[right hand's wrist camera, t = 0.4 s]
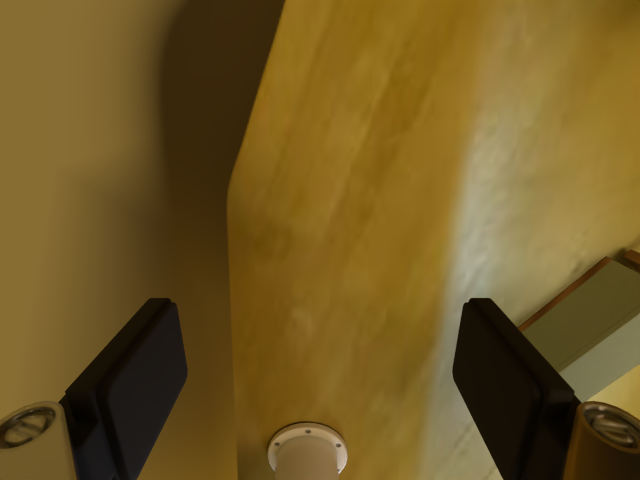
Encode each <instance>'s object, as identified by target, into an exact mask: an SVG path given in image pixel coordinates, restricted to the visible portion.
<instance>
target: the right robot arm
mask: <svg viewBox="0 0 640 480" xmlns="http://www.w3.org/2000/svg"><path fill="white" fill-rule="evenodd" d="M452 371H453V378H454V381H455V383H456V385H457V387H458V389H459V391H460V393H461V395H462V397H463V399H464V401H465V403H466V405H467V408H468V410H469V412H470V414H471V416H472V418H473V420H474V422H475V424H476V426H477V428H478V430H479V432H480V434H481V436H482V438H483V440H484V442H485V444H486V446H487V448H488V450H489V452H490V454H491V456H492V458H493V460H494V462H495V464H496V466H497V468H498V470H499V472H500V474H501V476H502V478H503V479H504V480H640V420H639V419H637V418H636V417H634V416H633V415H631V414H630V413H628V412H626V411H624V410H622V409H620V408H618V407H616V406H613V405H610V404H607V403H603V402H596V401H588V402H583V403H582V402H581V401H580V400H579V399H578V398H577V397H576V396H575V394H574V393H575V391H574V390H573V389H572V388H571V386H570V385H569V384H568V383H567V382H566V381H565V380H564V379H563V378H562V377H561V375H560V374H559V373H558V372H557V371H556V370H555V369H554V368H553V367H552V366H551V364H550V363H549V362H548V361H547V360H546V359H545V358H544V357H543V356H542V355H541V353H540V352H539V351H538V350H537V349H536V348H535V347H534V346H533V345H532V343H531V342H530V341H529V340H528V339H527V338H526V337H525V336H524V335H523V334H522V332H521V331H520V330H519V329H518V328H517V327H516V326H515V325H514V324H513V323H512V321H511V320H510V319H509V318H508V317H507V316H506V315H505V314H504V313H503V312H502V310H501V309H500V308H499V307H498V306H497V305H496V304H495V303H494V302H493V301H492V300H491V299H490V298H471V299H470V300H469V302H468V303H464V305H463V310H462V316H461V322H460V328H459V333H458V339H457V345H456V351H455V357H454V363H453V370H452ZM186 378H187V363H186V357H185V351H184V345H183V339H182V334H181V328H180V322H179V316H178V310H177V305H176V303H172V302H171V300H170V299H169V298H150V299H149V300H148V301H147V302H146V303H145V304H144V305H143V306H142V307H141V308H140V309H139V310H138V312H137V313H136V314H135V315H134V316H133V317H132V318H131V319H130V320H129V321H128V323H127V324H126V325H125V326H124V327H123V328H122V329H121V330H120V331H119V332H118V334H117V335H116V336H115V337H114V338H113V339H112V340H111V341H110V342H109V344H108V345H107V346H106V347H105V348H104V349H103V350H102V351H101V352H100V353H99V355H98V356H97V357H96V358H95V359H94V360H93V361H92V362H91V363H90V364H89V366H88V367H87V368H86V369H85V370H84V371H83V372H82V373H81V374H80V375H79V377H78V378H77V379H76V380H75V381H74V382H73V383H72V384H71V385H70V387H69V388H68V389H67V390H66V391H65V393H66V395H65V396H64V397H63V398H62V399H61V400H60V401H59V402H58V403H57V402H52V401H44V402H38V403H34V404H30V405H27V406H24V407H22V408H20V409H18V410H16V411H14V412H12V413H10V414H9V415H7V416H6V417H4V418H3V419H1V420H0V480H136V479H137V478H138V476H139V474H140V472H141V470H142V468H143V466H144V464H145V462H146V460H147V458H148V456H149V454H150V452H151V450H152V448H153V446H154V444H155V442H156V440H157V438H158V436H159V434H160V432H161V430H162V428H163V426H164V423H165V422H166V420H167V418H168V415H169V414H170V412H171V410H172V408H173V405H174V403H175V401H176V399H177V397H178V395H179V393H180V391H181V389H182V387H183V385H184V383H185V381H186ZM268 461H269V464H270V466H271V468H272V469H273V470H274V471H275V480H339V478H338V474H339V473H340V472H341V471H342V469H343V468H344V466H345V464H346V461H347V448H346V444H345V442H344V440H343V439H342V437H341V436H340V435H339V434H338V433H337V432H336V431H334V430H332V429H331V428H329V427H326V426H324V425H321V424H316V423H298V424H294V425H290V426H288V427H286V428H284V429H282V430H280V431H279V432H278V433H277V434H276V435H275V436H274V437H273V438H272V440H271V442H270V444H269V448H268Z"/></svg>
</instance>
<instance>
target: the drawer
mask: <svg viewBox="0 0 640 480" xmlns="http://www.w3.org/2000/svg"><path fill="white" fill-rule="evenodd" d="M623 257H624V258H625V259H626V260H627V261H628V262H629V263H630V264H631V265H632V266H633V267H634V268H635V270H636V271H637V272H638V273H639V274H640V253H638V252H636V251H634V250H630V251H628V252H627V253H626V254H625V255H623Z"/></svg>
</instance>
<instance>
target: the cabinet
mask: <svg viewBox="0 0 640 480" xmlns="http://www.w3.org/2000/svg"><path fill="white" fill-rule="evenodd" d="M518 329H519V330H520V331H521V332H522V334H523V335H524V336H525V337H526V338H527V339H528V340H529V341H530V342H531V343H532V345H533V346H534V347H535V348H536V349H537V350H538V351H539V352H540V353H541V355H542V356H543V357H544V358H545V359H546V360H547V361H548V362H549V363H550V364H551V366H552V367H553V368H554V369H555V370H556V371H557V372H558V373H559V374H560V375H561V377H562V378H563V379H564V380H565V381H566V382H567V383H568V384H569V385H570V386H571V388H572V389H573V390H574V391H575V393H574V394H575V396H576V397H577V398H578V399H579V400H580V401H581V402H582V403H583V402H585V401H587V400H588V399H589V398H591V397H592V396H594V395H595V394H597V393H598V392H600V391H601V390H602V389H604V388H605V387H607V386H608V385H610V384H611V383H613V382H614V381H615V380H617V379H618V378H620V377H621V376H623V375H624V374H626V373H627V372H628V371H630V370H631V369H633V368H634V367H636V366H637V365H639V364H640V274H639V273H637V272H635V271H633V270H631V269H630V268H628V267H626V266H624V265H622V264H620V263H618V262H616V261H614V260H612V259H610V258H608V257H605V258H604V259H603V260H601V261H600V262H599V263H598V264H596V265H595V266H594V267H593V268H592V269H590V270H589V271H588V272H587V273H585V274H584V275H583V276H582V277H580V278H579V279H578V280H577V281H575V282H574V283H573V284H572V285H571V286H569V287H568V288H567V289H566V290H564V291H563V292H562V293H561V294H559V295H558V296H557V297H556V298H554V299H553V300H552V301H551V302H549V303H548V304H547V305H546V306H545V307H543V308H542V309H541V310H540V311H538V312H537V313H536V314H535V315H533V316H532V317H531V318H530V319H528V320H527V321H526V322H525V323H524V324H522V325H521V326H520V327H519V328H518Z"/></svg>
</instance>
